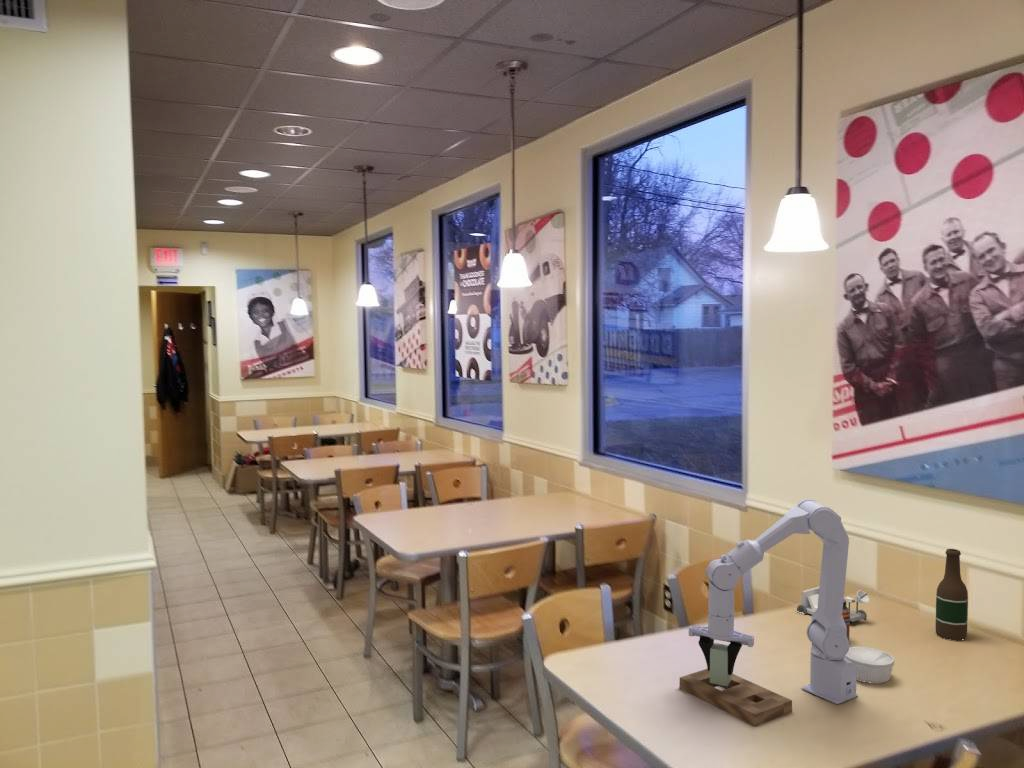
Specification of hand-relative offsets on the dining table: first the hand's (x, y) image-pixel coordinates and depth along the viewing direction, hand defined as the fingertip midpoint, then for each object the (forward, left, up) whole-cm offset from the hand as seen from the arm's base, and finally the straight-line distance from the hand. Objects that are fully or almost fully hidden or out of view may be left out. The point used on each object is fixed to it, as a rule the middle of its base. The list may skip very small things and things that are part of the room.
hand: (720, 671), depth 179 cm
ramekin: (-13, -37, -5) cm, 40 cm away
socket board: (-4, 0, -5) cm, 6 cm away
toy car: (+17, -67, -6) cm, 69 cm away
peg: (0, 0, -2) cm, 3 cm away
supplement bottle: (+5, -51, -5) cm, 52 cm away
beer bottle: (-10, -80, -5) cm, 81 cm away
